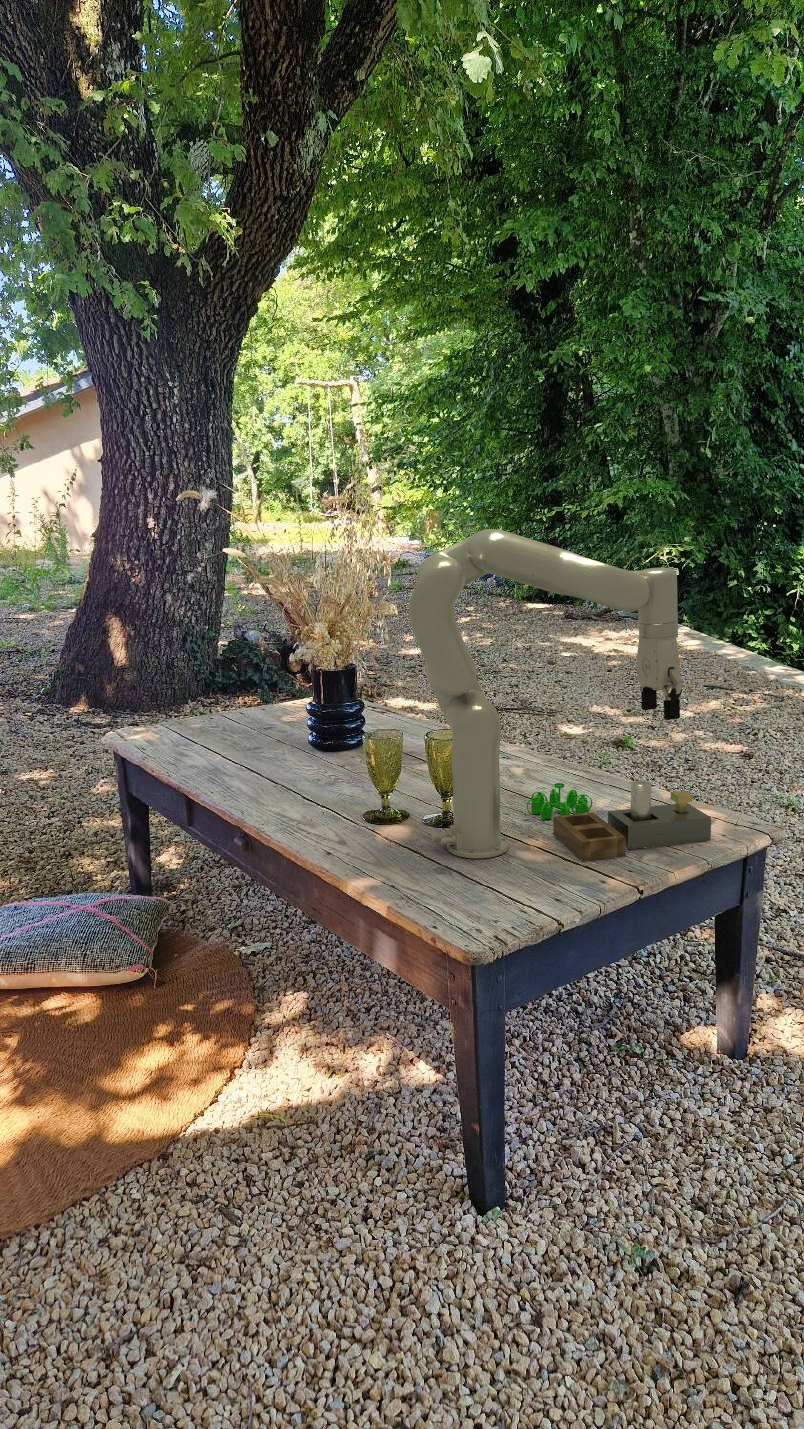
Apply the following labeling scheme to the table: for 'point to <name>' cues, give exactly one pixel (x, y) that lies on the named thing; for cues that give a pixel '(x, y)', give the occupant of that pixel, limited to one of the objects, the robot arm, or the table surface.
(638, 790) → the grey tall cylinder
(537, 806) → the chandelier
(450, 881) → the table surface
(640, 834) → the socket block
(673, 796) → the release key
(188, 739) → the table surface
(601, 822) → the frame
